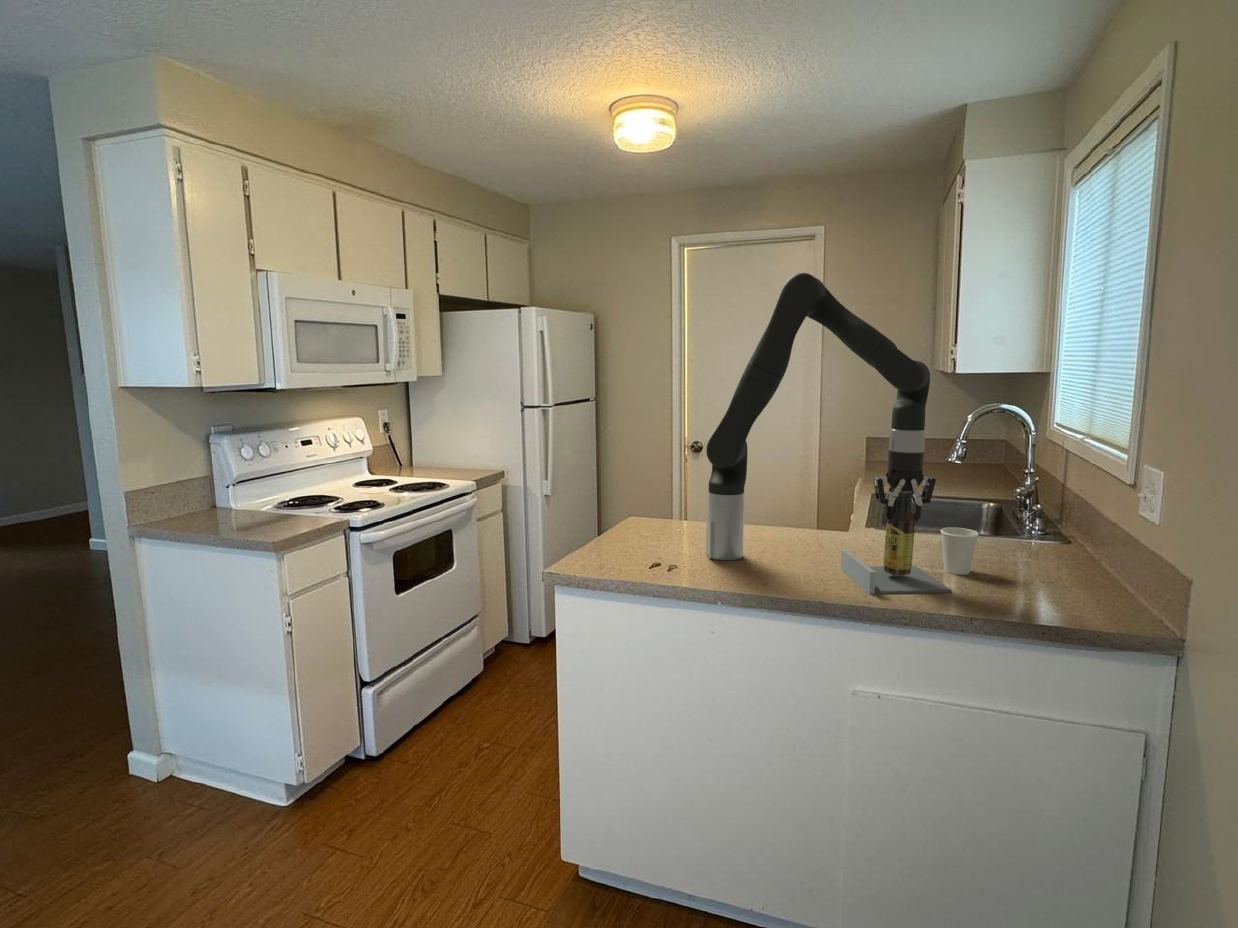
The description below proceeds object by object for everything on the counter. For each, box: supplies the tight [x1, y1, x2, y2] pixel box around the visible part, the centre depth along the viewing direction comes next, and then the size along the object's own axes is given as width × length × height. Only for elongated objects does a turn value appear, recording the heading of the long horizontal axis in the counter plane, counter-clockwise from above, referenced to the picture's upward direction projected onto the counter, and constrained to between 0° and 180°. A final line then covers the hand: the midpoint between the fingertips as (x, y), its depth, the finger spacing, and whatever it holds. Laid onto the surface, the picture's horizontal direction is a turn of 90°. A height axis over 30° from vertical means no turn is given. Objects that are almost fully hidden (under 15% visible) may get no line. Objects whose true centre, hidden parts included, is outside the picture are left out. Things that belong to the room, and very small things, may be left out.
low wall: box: [840, 549, 876, 595], centre depth 166 cm, size 1×18×5 cm, turn 2°
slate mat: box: [869, 565, 952, 595], centre depth 166 cm, size 16×18×1 cm
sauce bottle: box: [883, 491, 916, 575], centre depth 165 cm, size 7×6×20 cm
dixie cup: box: [940, 527, 979, 576], centre depth 172 cm, size 8×8×10 cm
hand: (901, 520), depth 164 cm, fingers closed on sauce bottle, 5 cm apart
